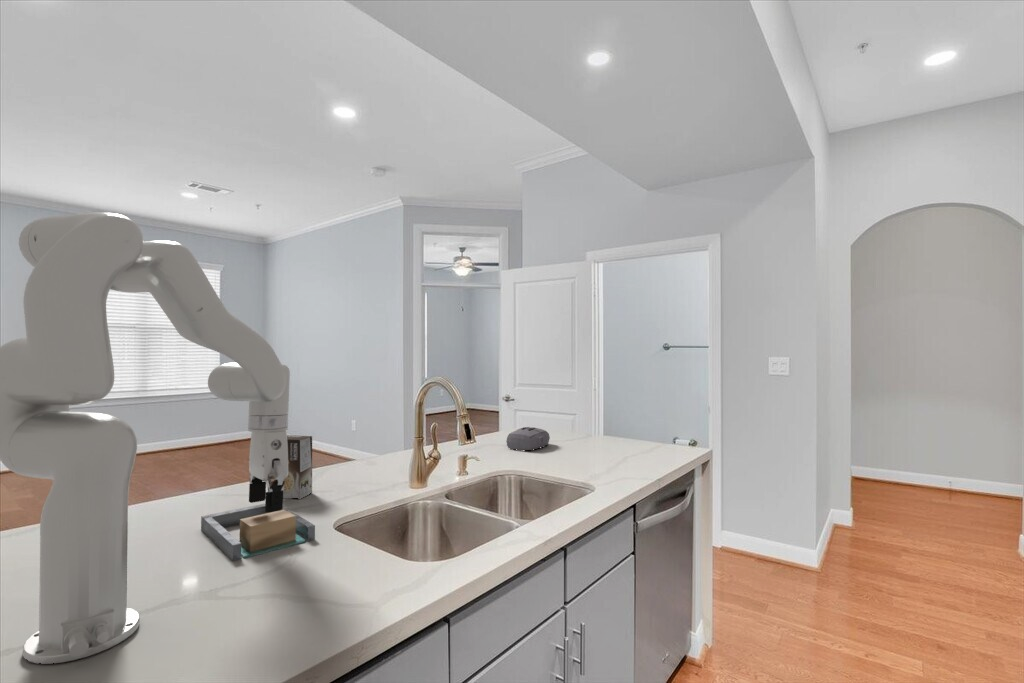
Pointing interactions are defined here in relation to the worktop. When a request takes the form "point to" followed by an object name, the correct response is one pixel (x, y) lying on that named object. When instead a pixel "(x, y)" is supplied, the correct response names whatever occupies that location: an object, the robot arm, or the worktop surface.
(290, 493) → the coffee box
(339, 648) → the worktop surface
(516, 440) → the grey rounded bag
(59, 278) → the robot arm
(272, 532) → the tan cardboard box
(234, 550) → the bay
